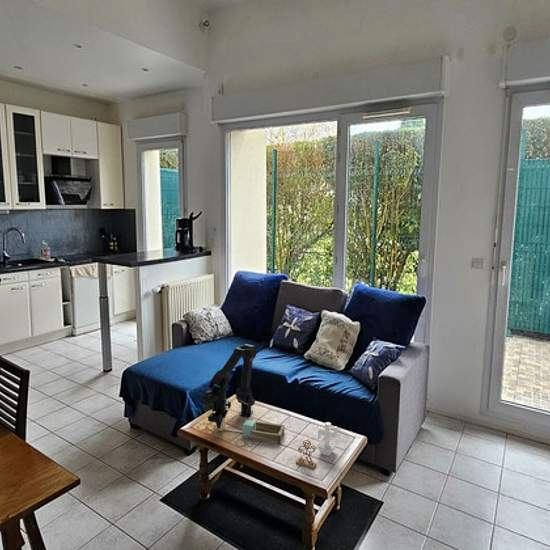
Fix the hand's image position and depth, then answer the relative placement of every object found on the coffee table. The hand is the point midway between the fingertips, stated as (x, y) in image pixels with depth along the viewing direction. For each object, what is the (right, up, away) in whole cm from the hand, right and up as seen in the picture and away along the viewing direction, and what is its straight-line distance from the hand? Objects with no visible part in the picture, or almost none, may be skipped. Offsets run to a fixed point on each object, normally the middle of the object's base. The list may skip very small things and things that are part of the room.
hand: (219, 426), depth 218 cm
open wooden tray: (+25, -3, -5) cm, 26 cm away
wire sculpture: (+43, -7, -28) cm, 51 cm away
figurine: (+53, -6, -18) cm, 56 cm away
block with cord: (+9, -2, -2) cm, 9 cm away
